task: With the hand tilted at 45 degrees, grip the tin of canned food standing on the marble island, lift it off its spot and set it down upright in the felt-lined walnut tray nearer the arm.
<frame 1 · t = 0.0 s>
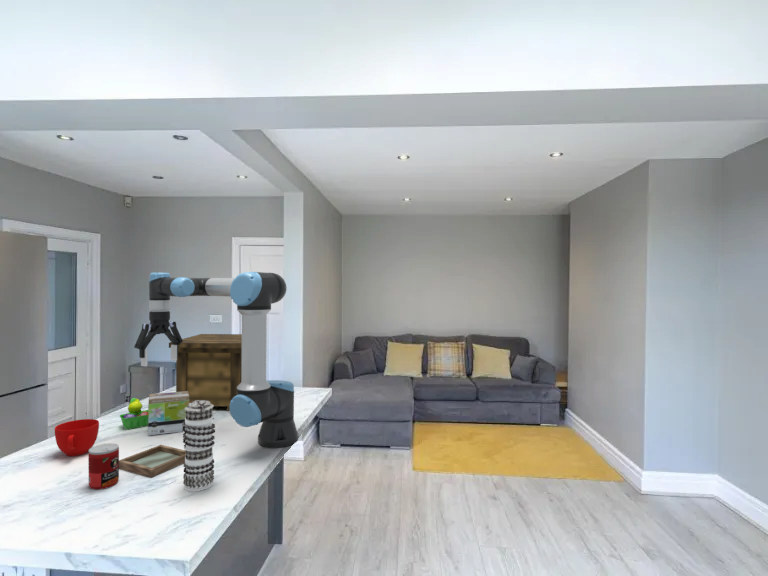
hand: (159, 363, 178), 28 cm above the counter, tool pointing down, fingers open, 13 cm apart
fruit basket: (136, 426, 186), on the counter
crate: (220, 403, 222), on the counter
tea box: (168, 430, 181), on the counter
tray: (156, 463, 148), on the counter
canned food: (103, 484, 133), on the counter
decorative candle: (198, 485, 132), on the counter
ceramic cup: (76, 455, 155), on the counter
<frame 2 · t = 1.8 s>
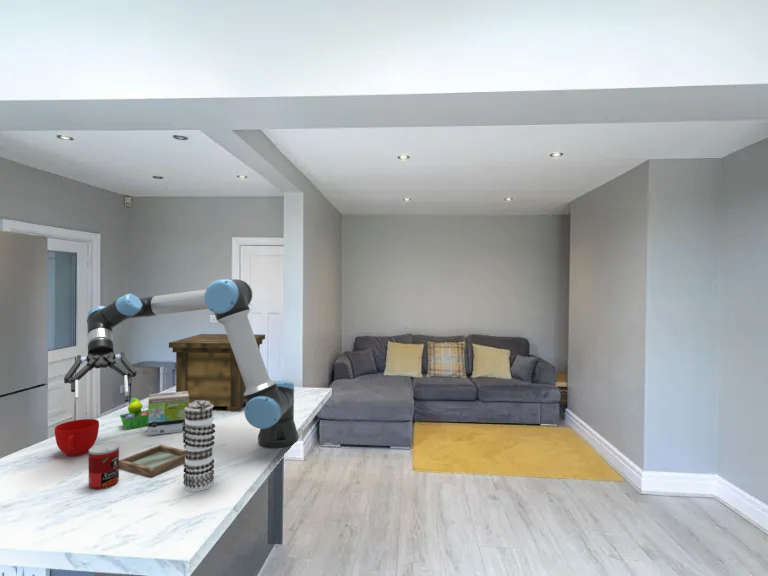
hand: (102, 396, 142), 24 cm above the counter, tool tilted 45°, fingers open, 13 cm apart
nothing on the counter moved.
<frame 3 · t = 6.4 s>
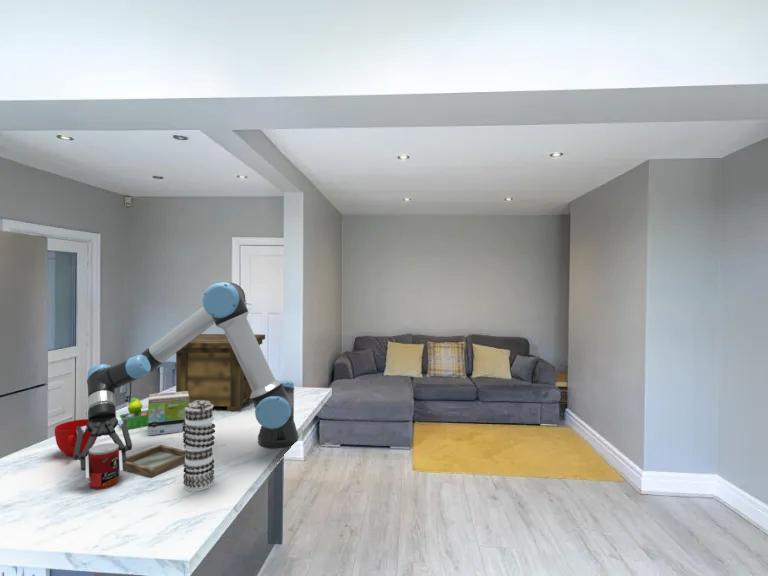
hand: (104, 476, 130), 4 cm above the counter, tool tilted 45°, fingers closed on canned food, 8 cm apart
canned food: (103, 484, 133), on the counter, touching gripper
everything else where it was.
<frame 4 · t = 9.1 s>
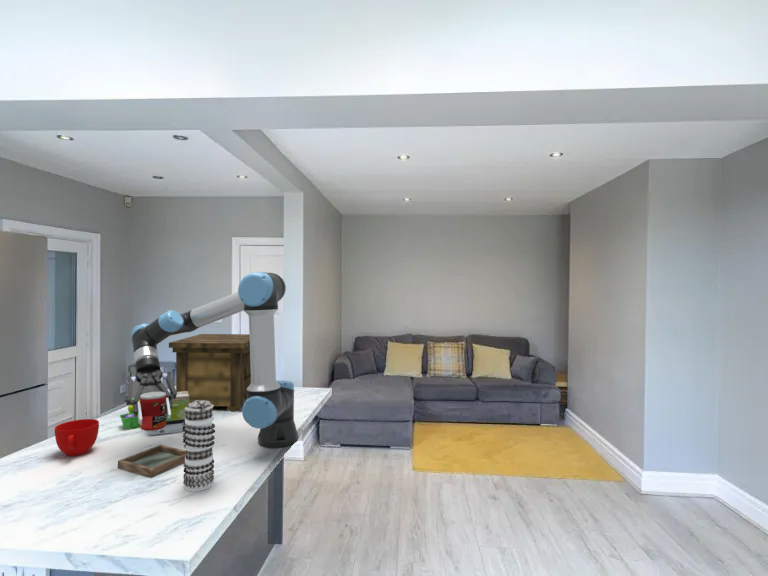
hand: (155, 419, 143), 16 cm above the counter, tool tilted 45°, fingers closed on canned food, 8 cm apart
canned food: (153, 427, 146), point 12 cm above the counter, touching gripper
everything else where it was.
when the fingers open (6 cm above the counter, at t = 11.7 s): canned food drops 1 cm, resting on tray.
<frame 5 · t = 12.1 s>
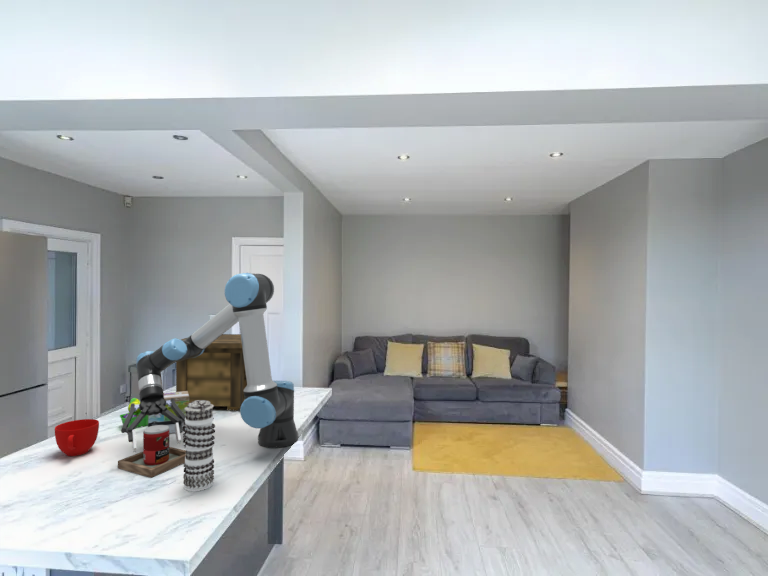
hand: (157, 445, 145), 7 cm above the counter, tool tilted 45°, fingers open, 12 cm apart
canned food: (156, 461, 148), point 1 cm above the counter, touching tray
everything else where it was.
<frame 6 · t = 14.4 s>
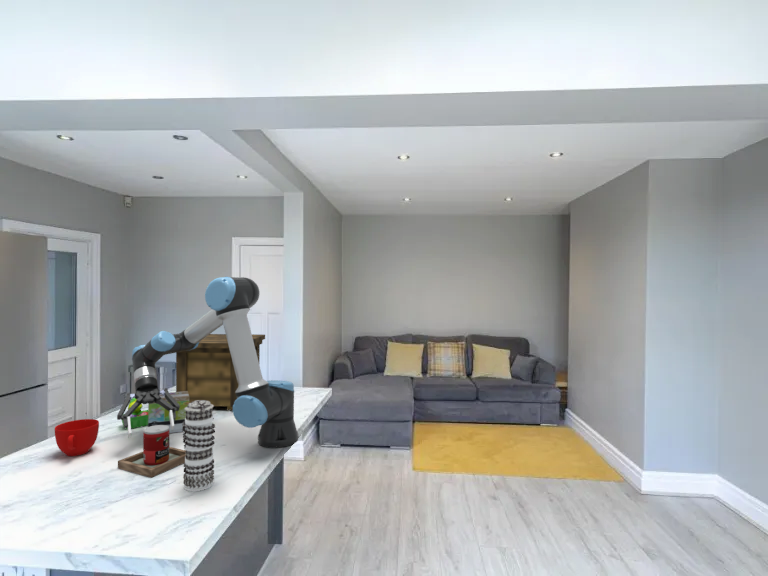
hand: (151, 431, 156), 8 cm above the counter, tool tilted 45°, fingers open, 13 cm apart
nothing on the counter moved.
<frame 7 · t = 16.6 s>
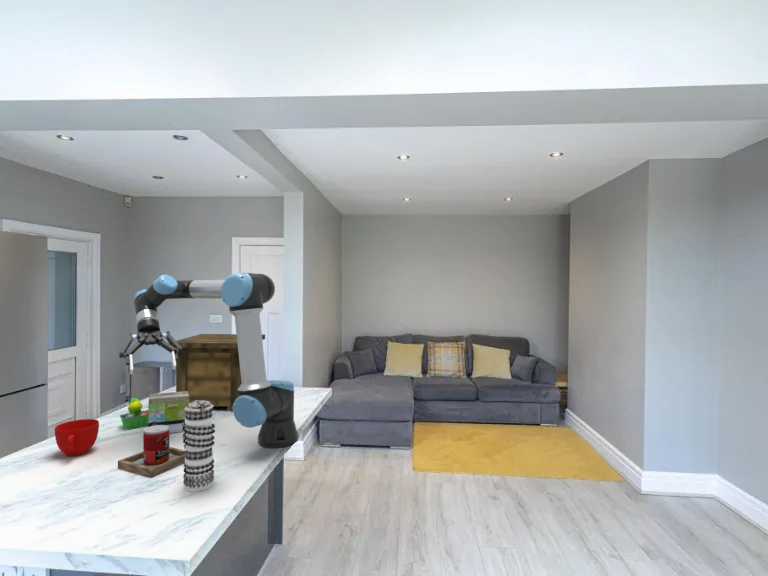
hand: (153, 369, 156), 30 cm above the counter, tool tilted 45°, fingers open, 13 cm apart
nothing on the counter moved.
at the end: canned food inside the target area on the tray (0.1 cm from its centre), point 0.6 cm above the tray's base; canned food tilted 0°; the gripper is holding nothing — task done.
